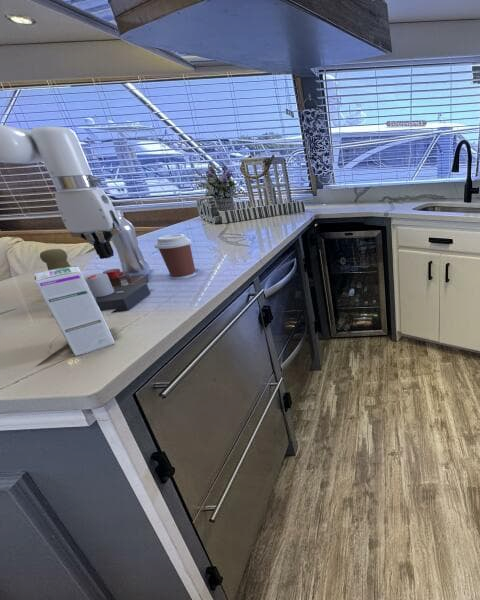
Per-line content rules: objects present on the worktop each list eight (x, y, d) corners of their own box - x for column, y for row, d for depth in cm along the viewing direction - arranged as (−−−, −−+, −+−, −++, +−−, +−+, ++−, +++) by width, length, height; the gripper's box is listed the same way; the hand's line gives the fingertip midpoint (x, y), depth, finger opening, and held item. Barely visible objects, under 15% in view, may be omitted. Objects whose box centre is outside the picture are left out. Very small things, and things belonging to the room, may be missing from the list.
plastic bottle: (148, 278, 97) (123, 210, 89) (121, 281, 95) (93, 212, 87) (154, 272, 102) (131, 207, 95) (129, 275, 100) (103, 209, 92)
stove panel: (57, 319, 72) (50, 306, 70) (88, 300, 81) (83, 289, 80) (128, 310, 74) (123, 298, 73) (150, 293, 84) (146, 282, 83)
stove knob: (97, 291, 78) (89, 273, 76) (118, 289, 79) (110, 271, 77) (85, 298, 74) (76, 279, 72) (107, 296, 75) (99, 276, 73)
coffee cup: (198, 269, 104) (187, 232, 99) (203, 275, 97) (192, 236, 92) (164, 275, 98) (151, 237, 94) (168, 283, 92) (153, 241, 87)
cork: (48, 290, 90) (29, 252, 86) (74, 283, 95) (57, 246, 91) (63, 291, 88) (44, 253, 84) (88, 284, 94) (71, 247, 89)
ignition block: (85, 297, 84) (78, 283, 82) (105, 286, 92) (100, 272, 90) (132, 292, 86) (127, 278, 84) (148, 281, 94) (144, 268, 92)
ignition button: (102, 279, 85) (99, 273, 85) (110, 275, 89) (107, 269, 88) (117, 278, 86) (115, 271, 85) (124, 274, 89) (122, 268, 89)
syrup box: (116, 343, 60) (83, 269, 54) (73, 357, 56) (33, 279, 50) (110, 334, 64) (79, 264, 58) (70, 347, 60) (32, 272, 54)
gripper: (119, 181, 83) (145, 250, 90) (51, 185, 80) (84, 256, 87) (101, 183, 76) (131, 257, 83) (26, 187, 73) (64, 264, 80)
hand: (107, 257), depth 85 cm, fingers closed
